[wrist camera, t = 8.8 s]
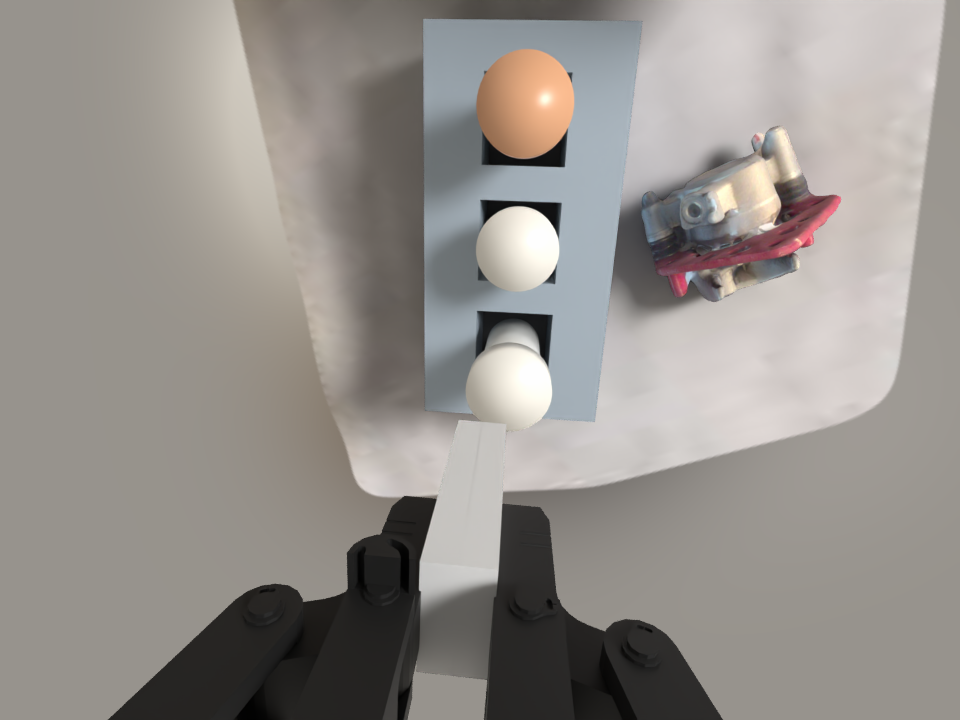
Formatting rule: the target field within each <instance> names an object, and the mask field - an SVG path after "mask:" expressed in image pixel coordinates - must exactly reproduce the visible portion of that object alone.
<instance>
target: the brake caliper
mask: <svg viewBox="0 0 960 720" xmlns="http://www.w3.org/2000/svg"><path fill="white" fill-rule="evenodd" d="M752 144H753V148H754V151H755V153H753V154H751V155H749V156H747V157H743V158H739V159H735V160H731V161H729V162H727V163H725V164H723V165H720V166H718V167H716V168H714V169H712V170H710V171H707V172H705V173H703V174H701V175H700V176H698V177H696V178H694V179H692V180H690V181H689V182H688V183H687V184H686V185H685V188H683V189H678V190H675V191H673V192H672V193H671V194H670V195H669V196H668V197H667V198H666V199H665V200H663V201H662V200H660V199H659V198H658V197H657V196H656V195H655V194H654V192H651V191H649V192H647V193H646V194H644V196H643V198H642V211H641V215H642V219H643V222H644V226H645V232H646V237H647V241H648V243H649V245H650V248H651V251H652V254H653V259H654V264H655V266H656V273H657V274H658V275H661V276H667V277H668V280H669V283H670V287H671V289H672V292H673V294H674V296H675V297H677V298H679V297H682V296H684V295H685V294H686V293H687V288H688V284H689V281H690V280H691V281H692V282H693V283H694V284H695V285H696V286H697V288H698V290H699V291H700V293H701V294H702V296H703V297H704V298H705V299H706V300H708V301H712V302H717V301H719V300H722V299H723V298H724V297H727V296H729V295H731V294H733V293H734V292H735V291H737V290H739V289H742V288H746V287H749V286H752V285H755V284H759V283H762V282H765V281H768V280H770V279H774V278H778V277H781V276H783V275H785V274H788V273H792V272H794V271H796V270H798V268H799V263H800V262H799V257H798V255H797V254H795V253H793V252H795V251H796V250H798V249H799V248H800V247H801V248H804V247H808V246H811V245H812V244H813V243H814V238H813V234H812V233H813V232H814V231H815V230H817V229H818V227H820V226H822V225H823V224H824V223H825V222H826V221H827V219H828V217H830V216H831V215H832V214H833V213H834V212H835V211H836V209H837V207H838V205H839V204H840V202H841V197H839V196H837V195H828V196H815V195H813V194H811V193H810V192H809V190H808V186H807V182H806V179H805V177H804V175H803V173H802V171H801V168H800V166H799V164H798V161H797V158H796V154H795V152H794V150H793V147H792V145H791V142H790V139H789V136H788V133H787V131H786V129H785V128H784V127H783V126H776V127H773V128H771V129H769V130H768V131H767V133H766V135H765V137H764V135H763V134H761V133H757V134H755V135H754V137H753V138H752Z"/></svg>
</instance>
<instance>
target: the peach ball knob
mask: <svg viewBox="0 0 960 720" xmlns="http://www.w3.org/2000/svg"><path fill="white" fill-rule="evenodd" d="M476 108H477V117H478V121H479V124H480V127H481V129H482V131H483V133H484V135H485V136H486V138H487V139H488V140H489V142H490V143H491V144H492V145H493V146H494V147H495V148H496V149H497V150H499V151H500V152H501V153H503V154H505V155H507V156H510V157H513V158H517V159H530V158H535V157H538V156H540V155H542V154H545V153H546V152H548V151H549V150H551V149H552V148H553V147H554V146H555V145H556V144H557V143H558V142H559V141H560V139H561V138H562V137H563V135H564V134H565V132H566V131H567V129H568V127H569V124H570V122H571V119H572V115H573V110H574V91H573V87H572V83H571V80H570V78H569V76H568V74H567V72H566V70H565V69H564V68H563V66H562V65H561V64H560V63H559V62H558V61H557V60H556V59H555V58H553V57H552V56H550V55H549V54H547V53H544V52H542V51H539V50H534V49H521V50H516V51H513V52H510V53H508V54H506V55H504V56H502V57H501V58H499V59H498V60H497V61H496V62H495V63H494V64H493V65H492V66H491V67H490V68H489V69H488V70H487V72H486V74H485V75H484V77H483V79H482V81H481V83H480V86H479V89H478V94H477V102H476Z"/></svg>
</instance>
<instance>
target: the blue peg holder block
mask: <svg viewBox="0 0 960 720" xmlns="http://www.w3.org/2000/svg"><path fill="white" fill-rule="evenodd" d="M641 29H642V21H586V20H487V19H423V87H424V326H425V411H439V412H454V413H468V414H473V412H472V411H471V409H470V407H469V405H468V402H467V399H466V383H467V379H468V375H469V372H470V369H471V367H472V364H473V362H474V361H475V359H476V358H477V357H478V355H479V354H481V353H482V352H483V351H484V350H485V347H486V343H487V339H488V336H489V333H490V331H491V330H492V328H493V327H494V326H495V325H496V324H497V323H499V322H501V321H503V320H506V319H520V320H523V321H525V322H527V323H529V324H530V325H531V326H532V327H533V328H534V329H535V331H536V333H537V335H538V338H539V348H540V356H541V357H542V358H543V359H544V361H545V362H546V364H547V366H548V368H549V372H550V377H551V385H552V399H551V403H550V406H549V408H548V410H547V412H546V413H545V415H544V416H543V417H542V419H557V420H571V421H586V422H595V416H596V408H597V399H598V391H599V382H600V374H601V366H602V357H603V349H604V340H605V332H606V323H607V315H608V307H609V298H610V290H611V281H612V273H613V265H614V256H615V248H616V239H617V231H618V223H619V214H620V206H621V197H622V189H623V180H624V172H625V164H626V155H627V147H628V138H629V130H630V122H631V113H632V105H633V96H634V88H635V80H636V71H637V63H638V54H639V46H640V37H641ZM521 49H534V50H539V51H542V52H544V53H547V54H549V55H550V56H552V57H553V58H555V59H556V60H557V61H558V62H559V63H560V64H561V65H562V66H563V68H564V69H565V70H566V72H567V74H568V76H569V78H570V80H571V83H572V87H573V91H574V110H573V115H572V119H571V122H570V124H569V127H568V129H567V131H566V132H565V134H564V135H563V137H562V138H561V139H560V141H559V142H558V143H557V144H556V145H555V146H554V147H553V148H552V149H551V150H549V151H548V152H546V153H545V154H542V155H540V156H538V157H535V158H530V159H517V158H513V157H510V156H507V155H505V154H503V153H501V152H500V151H499V150H497V149H496V148H495V147H494V146H493V145H492V144H491V143H490V142H489V140H488V139H487V138H486V136H485V135H484V133H483V131H482V129H481V127H480V124H479V121H478V117H477V108H476V102H477V94H478V89H479V86H480V83H481V81H482V79H483V77H484V75H485V74H486V72H487V70H488V69H489V68H490V67H491V66H492V65H493V64H494V63H495V62H496V61H497V60H498V59H499V58H501V57H502V56H504V55H506V54H508V53H510V52H513V51H516V50H521ZM513 206H524V207H529V208H532V209H534V210H537V211H538V212H540V213H541V214H543V215H544V216H545V217H546V218H547V219H548V220H549V221H550V223H551V224H552V226H553V228H554V229H555V231H556V234H557V237H558V241H559V257H558V261H557V264H556V267H555V269H554V270H553V272H552V274H551V275H550V276H549V278H548V279H547V280H546V281H544V282H543V283H542V284H541V285H539V286H537V287H535V288H533V289H531V290H527V291H522V292H512V291H507V290H504V289H501V288H499V287H497V286H495V285H494V284H492V283H491V282H490V281H489V280H488V279H487V278H486V277H485V276H484V274H483V273H482V271H481V269H480V267H479V265H478V262H477V257H476V243H477V238H478V236H479V233H480V231H481V229H482V227H483V226H484V224H485V223H486V222H487V221H488V220H489V219H490V218H491V217H492V216H493V215H494V214H496V213H497V212H499V211H501V210H503V209H505V208H508V207H513Z"/></svg>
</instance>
